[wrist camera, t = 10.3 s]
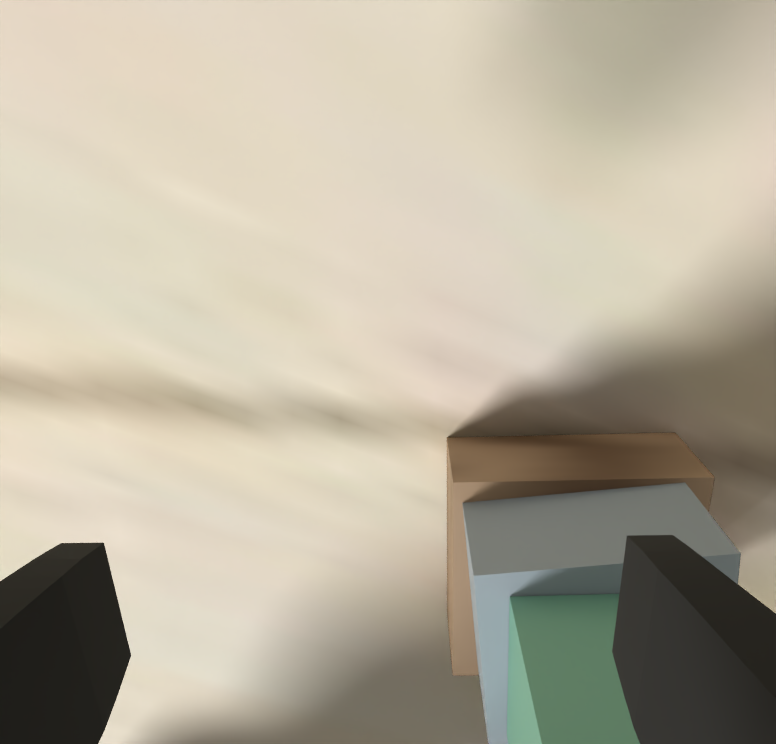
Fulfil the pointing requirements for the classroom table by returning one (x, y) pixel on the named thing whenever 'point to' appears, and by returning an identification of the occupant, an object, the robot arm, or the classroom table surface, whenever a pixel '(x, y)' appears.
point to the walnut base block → (547, 492)
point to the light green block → (565, 672)
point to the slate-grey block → (567, 559)
